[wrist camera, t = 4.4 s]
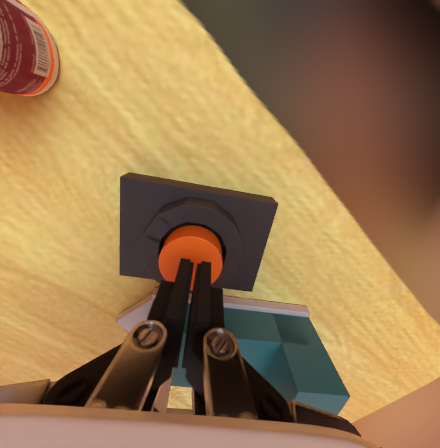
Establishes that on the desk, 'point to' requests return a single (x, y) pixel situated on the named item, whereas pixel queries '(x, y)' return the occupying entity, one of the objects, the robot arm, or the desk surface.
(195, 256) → the power button
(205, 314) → the robot arm
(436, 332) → the desk surface
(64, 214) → the desk surface
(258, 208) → the switch box
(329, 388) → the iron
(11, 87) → the pill bottle
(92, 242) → the desk surface
